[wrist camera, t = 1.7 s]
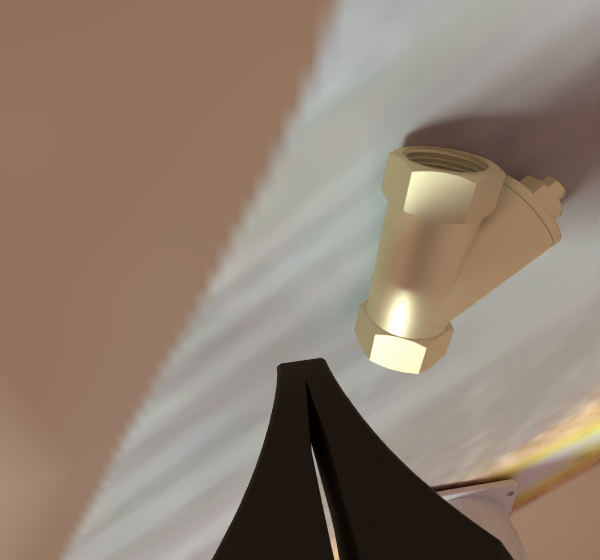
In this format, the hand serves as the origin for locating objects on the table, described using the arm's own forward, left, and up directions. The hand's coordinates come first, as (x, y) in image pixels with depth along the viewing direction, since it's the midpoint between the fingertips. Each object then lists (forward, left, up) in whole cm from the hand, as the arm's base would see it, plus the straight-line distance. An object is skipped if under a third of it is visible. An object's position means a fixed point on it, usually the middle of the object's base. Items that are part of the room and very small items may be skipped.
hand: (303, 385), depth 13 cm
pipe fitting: (+1, -7, -7) cm, 10 cm away
